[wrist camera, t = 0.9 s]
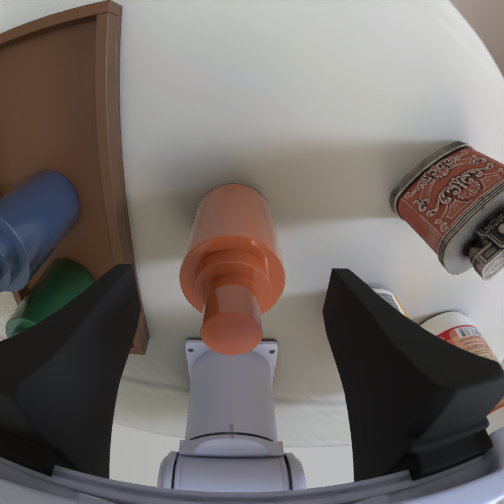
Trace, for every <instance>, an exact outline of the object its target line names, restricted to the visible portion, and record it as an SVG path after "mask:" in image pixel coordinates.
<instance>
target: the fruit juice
mask: <svg viewBox="0 0 504 504" xmlns="http://www.w3.org/2000/svg"><path fill="white" fill-rule="evenodd" d="M420 326H421V327H422V328H424V329H425V330H427V331H429V332H430V333H432V334H434V335H436V336H437V337H439V338H441V339H443V340H445V341H447V342H449V343H451V344H453V345H455V346H457V347H459V348H461V349H464V350H466V351H468V352H471V353H473V354H476V355H479V356H482V357H485V358H488V359H491V360H494V361H497V362H499V361H498V360H497V358H496V356H495V355H494V353H493V352H492V350H491V349H490V347H489V346H488V344H487V343H486V341H485V340H484V338H483V337H482V335H481V334H480V332H479V331H478V329H477V328H476V327H475V325H474V324H473V322H472V321H471V320H470V319H469V318H468V317H467V316H466V315H464V314H462V313H460V312H446V313H442V314H439V315H437V316H435V317H433V318H431V319H429V320H427V321H426V322H424V323H423V324H421V325H420ZM499 364H500V363H499ZM500 365H501V364H500ZM501 367H502V366H501ZM502 369H503V368H502ZM503 370H504V369H503ZM487 419H488V421H489V423H490V424H489V427H488V428H486V431H487V433H488V435H490V434H491V433H493V432H494V431H496V430H498V429H500V428H502V427H504V397H503V398H502V400H501V401H500V402H499V403H498V404H497V405H496V407H495V408H494V409H493V410H492V411H491V412H490V413H489V414H488V416H487ZM496 504H504V499H503V500H501V501H500V502H498V503H496Z"/></svg>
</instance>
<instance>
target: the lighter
mask: <svg viewBox="0 0 504 504" xmlns="http://www.w3.org/2000/svg"><path fill="white" fill-rule="evenodd" d="M390 206H391V209H392V211H393V212H394V213H395V214H396V215H397V216H398V217H399V218H400V219H401V220H403V221H405V222H407V223H408V224H409V225H410V226H411V227H412V228H413V229H414V230H415V231H416V232H417V233H418V234H419V236H420V237H421V238H422V239H423V240H424V241H425V242H426V243H427V244H428V245H429V246H430V247H431V249H432V250H433V251H434V252H435V253H436V254H437V255H438V259H439V261H440V263H441V264H442V265H443V267H444V268H445V269H446V270H447V271H448V272H449V273H451V274H453V275H458V274H461V273H463V272H465V271H467V270H468V269H470V268H472V267H474V269H475V271H476V272H477V273H478V274H479V275H480V276H481V277H482V278H483V279H484V280H485V281H488V280H490V279H491V278H493V277H494V276H495V275H496V274H497V273H499V272H500V271H501V270H502V269H503V268H504V164H502V163H500V162H498V161H496V160H494V159H492V158H490V157H488V156H486V155H484V154H482V153H480V152H477V151H475V150H474V148H473V147H472V146H470V145H468V144H466V143H463V142H460V141H459V142H455V143H453V144H451V145H449V146H447V147H445V148H443V149H441V150H439V151H437V152H436V153H434V154H433V155H431V156H430V157H428V158H427V159H425V160H424V161H423V162H422V163H420V164H419V165H418V166H417V167H416V168H415V169H413V170H412V171H411V172H410V173H409V174H408V175H407V176H406V177H405V178H404V179H403V180H402V181H401V182H400V183H399V184H398V185H397V186H396V188H395V189H394V190H393V191H392V193H391V196H390Z"/></svg>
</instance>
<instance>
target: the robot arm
mask: <svg viewBox="0 0 504 504" xmlns="http://www.w3.org/2000/svg"><path fill="white" fill-rule="evenodd" d="M140 312H141V304H140V299H139V294H138V289H137V283H136V278H135V272H134V266H133V264H117V265H115V266H114V267H112V268H111V269H110V270H109V271H107V272H106V273H105V274H104V275H102V276H101V277H100V278H99V279H98V280H96V281H95V282H94V283H93V284H91V285H90V286H89V287H88V288H87V289H85V290H84V291H83V292H82V293H80V294H79V295H78V296H76V297H75V298H74V299H72V300H71V301H70V302H68V303H67V304H66V305H65V306H63V307H62V308H60V309H59V310H58V311H56V312H55V313H53V314H52V315H50V316H48V317H47V318H45V319H44V320H42V321H40V322H39V323H37V324H35V325H33V326H31V327H29V328H28V329H26V330H24V331H22V332H20V333H18V334H16V335H14V336H12V337H10V338H8V339H5V340H3V341H0V504H496V503H498V502H500V501H501V500H503V499H504V427H502V428H500V429H498V430H496V431H494V432H493V433H491V434H490V435H488V433H487V431H486V428H488V427H489V424H490V423H489V421H488V419H487V416H488V414H489V413H490V412H491V411H492V410H493V409H494V408H495V407H496V405H497V404H498V403H499V402H500V401H501V400H502V398H503V397H504V370H503V369H502V367H501V365H500V364H499V362H497V361H494V360H491V359H488V358H485V357H482V356H479V355H476V354H473V353H471V352H468V351H466V350H464V349H461V348H459V347H457V346H455V345H453V344H451V343H449V342H447V341H445V340H443V339H441V338H439V337H437V336H436V335H434V334H432V333H430V332H429V331H427V330H425V329H424V328H422V327H421V326H419V325H418V324H416V323H415V322H413V321H412V320H410V319H409V318H407V317H406V316H405V315H403V314H402V313H401V312H399V311H398V310H397V309H395V308H394V307H393V306H392V305H390V304H389V303H388V302H387V301H385V300H384V299H383V298H382V297H381V296H380V295H378V294H377V293H376V292H375V291H374V290H373V289H371V288H370V287H369V286H368V285H367V284H366V283H365V282H363V281H362V280H361V279H360V278H359V277H358V276H356V275H355V274H354V273H353V272H352V271H350V270H349V269H338V268H332V272H331V276H330V281H329V286H328V290H327V294H326V299H325V303H324V308H323V317H324V323H325V328H326V334H327V337H328V340H329V344H330V347H331V350H332V353H333V356H334V359H335V362H336V365H337V369H338V372H339V375H340V378H341V381H342V385H343V389H344V393H345V399H346V404H347V410H348V417H349V424H350V431H351V440H352V451H353V467H354V482H352V483H346V484H340V485H333V486H327V487H319V488H310V489H306V482H305V476H304V470H303V467H302V464H301V462H300V461H299V460H298V459H297V458H296V457H295V456H294V455H293V454H292V453H284V452H283V442H281V441H277V431H276V421H275V411H274V401H273V391H272V385H273V379H274V372H275V366H276V360H277V354H278V343H277V342H275V341H260V343H259V344H258V346H257V347H256V348H254V349H253V350H251V351H249V352H247V353H244V354H241V355H223V354H219V353H217V352H214V351H212V350H211V349H209V348H208V347H207V346H206V345H205V344H204V342H203V341H202V340H186V342H185V352H186V359H187V365H188V372H189V379H190V385H191V386H190V395H189V405H188V415H187V425H186V436H185V440H181V441H180V448H179V452H176V451H171V452H170V453H169V454H168V455H167V456H166V457H165V458H164V459H163V460H162V462H161V466H160V470H159V475H158V486H157V487H152V486H145V485H139V484H132V483H127V482H121V481H116V480H111V479H109V462H110V444H111V433H112V424H113V416H114V409H115V403H116V398H117V392H118V387H119V383H120V379H121V376H122V373H123V370H124V367H125V364H126V361H127V358H128V355H129V352H130V349H131V346H132V343H133V340H134V337H135V334H136V331H137V327H138V322H139V317H140ZM190 348H192V349H190Z"/></svg>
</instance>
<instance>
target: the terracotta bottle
mask: <svg viewBox="0 0 504 504" xmlns="http://www.w3.org/2000/svg"><path fill="white" fill-rule="evenodd" d="M180 285H181V289H182V292H183V293H184V295H185V297H186V299H187V300H188V302H189V303H190V304H191V305H192V306H193V307H194V308H196V309H197V310H198V311H200V312H201V313H202V322H201V330H200V335H201V339H202V341H203V342H204V344H205V345H206V346H207V347H208V348H209V349H211V350H212V351H214V352H217V353H219V354H223V355H241V354H244V353H247V352H249V351H251V350H253V349H254V348H256V347H257V346H258V344H259V343H260V341H261V339H262V321H261V315H262V314H263V313H264V312H266V311H268V310H269V309H270V308H271V307H272V306H273V305H274V304H275V303H276V302H277V301H278V299H279V298H280V296H281V294H282V292H283V289H284V285H285V271H284V266H283V262H282V257H281V253H280V248H279V244H278V239H277V235H276V230H275V226H274V222H273V217H272V213H271V209H270V206H269V204H268V202H267V201H266V199H265V198H264V197H263V196H262V195H261V194H260V193H259V192H258V191H256V190H255V189H253V188H251V187H248V186H246V185H241V184H226V185H222V186H219V187H217V188H215V189H213V190H211V191H210V192H209V193H207V194H206V195H205V196H204V197H203V199H202V200H201V202H200V204H199V205H198V208H197V211H196V215H195V218H194V222H193V225H192V229H191V232H190V236H189V239H188V243H187V247H186V250H185V254H184V258H183V261H182V265H181V269H180Z"/></svg>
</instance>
